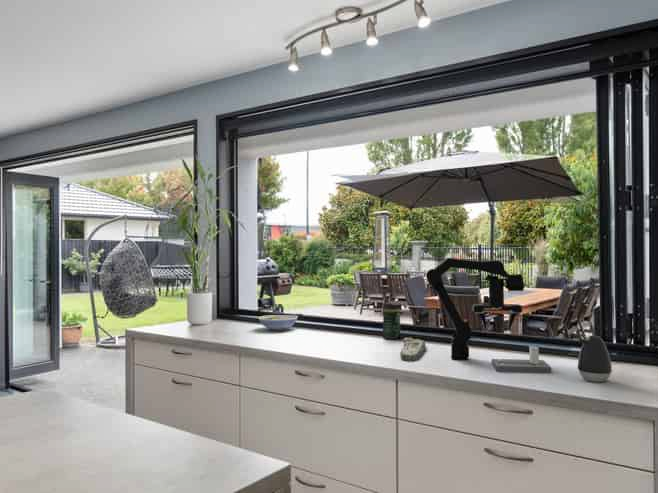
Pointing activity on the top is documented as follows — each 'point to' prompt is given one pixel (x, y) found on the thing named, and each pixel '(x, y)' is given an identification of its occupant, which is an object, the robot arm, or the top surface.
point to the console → (520, 366)
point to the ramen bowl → (278, 321)
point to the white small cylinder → (534, 354)
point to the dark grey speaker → (594, 360)
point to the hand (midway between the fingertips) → (497, 329)
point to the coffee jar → (391, 320)
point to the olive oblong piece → (412, 349)
